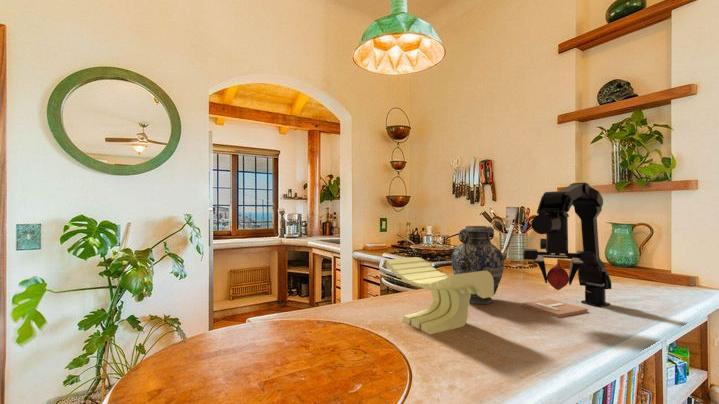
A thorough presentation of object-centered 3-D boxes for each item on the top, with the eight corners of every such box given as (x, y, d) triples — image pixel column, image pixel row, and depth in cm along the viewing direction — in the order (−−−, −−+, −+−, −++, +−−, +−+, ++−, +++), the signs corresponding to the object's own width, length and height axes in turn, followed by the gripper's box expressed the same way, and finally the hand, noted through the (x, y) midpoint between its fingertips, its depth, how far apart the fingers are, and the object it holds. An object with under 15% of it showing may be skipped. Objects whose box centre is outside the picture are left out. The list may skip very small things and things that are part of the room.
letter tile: (549, 301, 126) (549, 297, 126) (587, 311, 113) (587, 308, 113) (521, 305, 121) (521, 302, 121) (558, 317, 108) (558, 313, 108)
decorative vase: (485, 311, 114) (483, 227, 115) (440, 300, 129) (438, 226, 129) (516, 300, 127) (514, 225, 128) (472, 292, 142) (470, 224, 143)
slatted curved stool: (494, 333, 95) (493, 269, 95) (451, 345, 87) (450, 275, 87) (424, 306, 121) (424, 256, 121) (386, 313, 113) (386, 259, 114)
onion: (572, 292, 100) (571, 265, 100) (551, 291, 101) (550, 265, 102) (564, 288, 106) (564, 262, 106) (544, 287, 107) (544, 261, 107)
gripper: (588, 231, 107) (589, 281, 107) (522, 230, 115) (523, 276, 115) (595, 234, 97) (596, 289, 97) (523, 232, 105) (524, 283, 105)
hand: (557, 283), depth 104 cm, fingers closed on onion, 6 cm apart
